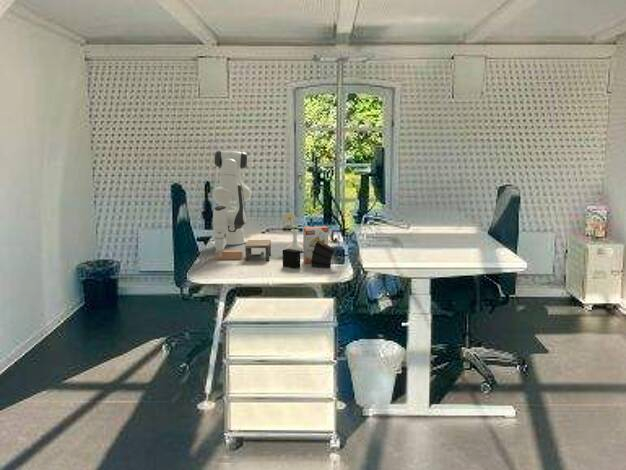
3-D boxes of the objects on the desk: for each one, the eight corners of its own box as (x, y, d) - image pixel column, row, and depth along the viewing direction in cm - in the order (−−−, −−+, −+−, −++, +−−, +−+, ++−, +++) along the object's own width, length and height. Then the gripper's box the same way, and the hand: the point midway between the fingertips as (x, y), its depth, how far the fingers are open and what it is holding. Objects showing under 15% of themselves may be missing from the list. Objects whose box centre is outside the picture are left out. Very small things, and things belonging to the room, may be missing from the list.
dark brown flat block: (307, 262, 395) (318, 240, 391) (327, 273, 393) (338, 250, 389) (305, 264, 391) (316, 241, 387) (325, 275, 389) (336, 252, 385)
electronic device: (295, 269, 387) (295, 251, 385) (282, 266, 393) (282, 249, 392) (300, 267, 390) (300, 250, 388) (287, 265, 396) (287, 248, 395)
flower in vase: (305, 249, 441) (304, 211, 436) (303, 253, 430) (302, 214, 425) (284, 249, 442) (284, 211, 438) (282, 253, 431) (281, 213, 427)
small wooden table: (248, 254, 427) (248, 239, 425) (270, 254, 427) (270, 239, 425) (245, 261, 408) (245, 245, 406) (269, 261, 408) (268, 245, 406)
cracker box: (305, 263, 400) (305, 228, 396) (303, 261, 405) (302, 227, 402) (328, 262, 403) (328, 227, 400) (325, 260, 409) (325, 225, 405)
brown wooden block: (216, 257, 420) (216, 250, 419) (242, 257, 420) (242, 250, 419) (215, 259, 415) (215, 252, 414) (241, 259, 415) (241, 251, 414)
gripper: (218, 230, 425) (218, 252, 427) (213, 236, 405) (214, 259, 407) (228, 230, 425) (228, 252, 427) (223, 236, 405) (224, 258, 407)
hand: (221, 255), depth 417 cm, fingers closed on brown wooden block, 6 cm apart
